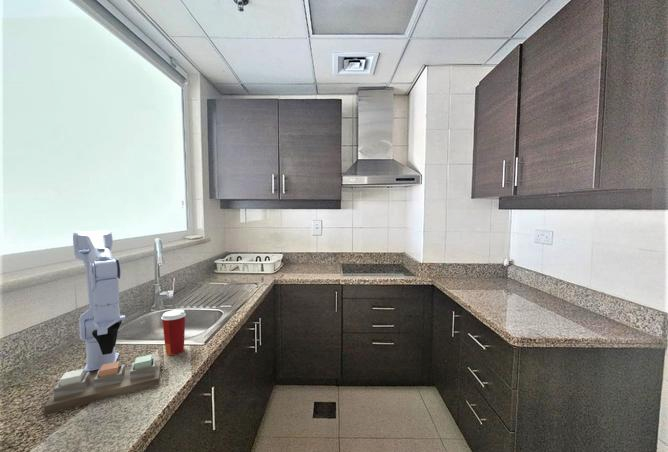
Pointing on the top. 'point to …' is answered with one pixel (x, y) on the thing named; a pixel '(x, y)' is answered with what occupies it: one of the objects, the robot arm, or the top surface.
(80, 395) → the button board
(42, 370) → the top surface
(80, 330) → the robot arm
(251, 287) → the top surface
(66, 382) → the cream button
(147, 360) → the sage button
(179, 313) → the paper cup
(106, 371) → the terracotta button
